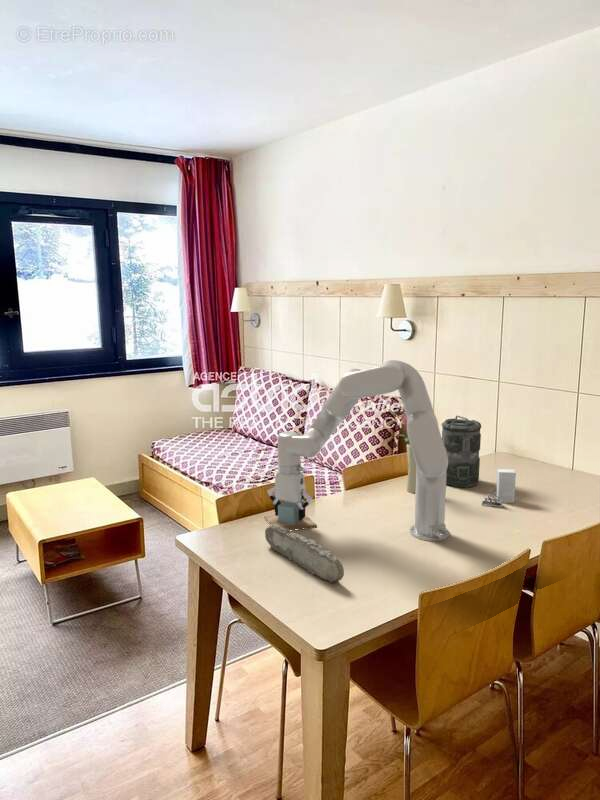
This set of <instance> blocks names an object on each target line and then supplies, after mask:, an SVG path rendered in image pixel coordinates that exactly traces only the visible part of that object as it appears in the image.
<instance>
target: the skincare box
mask: <svg viewBox="0 0 600 800" xmlns="http://www.w3.org/2000/svg"><path fill="white" fill-rule="evenodd" d="M496 471H497V473H496V477H497V478H496V495H497V496H498V497H499V499H500V500H501V502H502V503H507V504H509V503H511V504H514V503H515V497H516V496H515V494H516V477H517V475H516V474H517V472H516V471H515V469H507V468H506V469H505V468H504V469H503V468H497V470H496ZM495 498H496V499H498V498H497V497H496V496H495ZM500 500H499V501H500Z"/></svg>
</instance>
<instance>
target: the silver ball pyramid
mask: <svg viewBox="0 0 600 800" xmlns="http://www.w3.org/2000/svg"><path fill="white" fill-rule="evenodd" d="M489 491H490V492H492V493H493V494H492V493H488V494H487V495H486V496H485V497H484V498H483V500H482V501H481V506H484V507H488V508H489V507H490V508H498V509H502V508H503V503H504V502H501V500H500V499H499V497H498V496H497V494H496V489H495V487H494V486H492V487H491V489H490V490H489ZM496 497H497V498H498V499H496ZM499 500H500V501H499Z"/></svg>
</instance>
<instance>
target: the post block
mask: <svg viewBox="0 0 600 800" xmlns="http://www.w3.org/2000/svg"><path fill="white" fill-rule="evenodd" d="M263 518H265V519H266V520H267V521H268V522H269V523H270V524H271V525H272V526H280V527H282V528H284V529H289V530H295V529H301V530H304V529H303V528H307V529H311V527H313V528H317V526H318V525H317V524H316V523H315V522H314V521H313V520H312V519H311V518H310V517H309V516H308V515H306V514H305V517H304V518H303V519H302V520H301V521H298V522H297V523H296V524H294V525H290V524H285V523H280V522H278V516H275V514H273V515H272V514H271V515H265V516H264V517H263ZM265 519H264V520H265ZM266 520H265V521H266ZM267 521H266V522H267ZM268 522H267V523H268ZM269 523H268V524H269ZM270 524H269V525H270ZM271 525H270V526H271ZM295 531H296V530H295Z"/></svg>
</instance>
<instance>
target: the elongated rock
mask: <svg viewBox="0 0 600 800" xmlns="http://www.w3.org/2000/svg"><path fill="white" fill-rule="evenodd" d="M264 537H265V540H266V542H267V543H268V544H269V546H270V548H272V549H273V550H274V551H276V552H277V553H279V554H281V555H282V556H284V557H285V556H286V558H287V557H288V558H287V559H289V560H290V561H291V562H293V563H295V564H298V566H300V567H301V568H303V569H304V570H306V571H307V572H308V573H310V574H311V576H317V577H319V578H320V579H323V580H325V581H327V582H329V583H331V584H333V583H336V582H339V581H341V580H342V579H343V577H344V575H345V570H344V569H345V568H344V566H343V564H342V562H341V560H340V559H339V558H338V557H337V556H336V555H335V554H334V553H332V551H331V550H329V549H327V548H326V547H325V546H323V544H322V545H321V544H320V543H318V541H317V540H314V539H313V538H309V537H305V536H304V535H302V534H298V533H295V532H294V531H290V530H289V529H284V528H282V527H280V526H271V525H269V526H267V527H266V529H265V531H264Z"/></svg>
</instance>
